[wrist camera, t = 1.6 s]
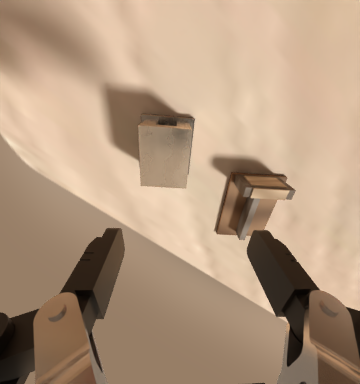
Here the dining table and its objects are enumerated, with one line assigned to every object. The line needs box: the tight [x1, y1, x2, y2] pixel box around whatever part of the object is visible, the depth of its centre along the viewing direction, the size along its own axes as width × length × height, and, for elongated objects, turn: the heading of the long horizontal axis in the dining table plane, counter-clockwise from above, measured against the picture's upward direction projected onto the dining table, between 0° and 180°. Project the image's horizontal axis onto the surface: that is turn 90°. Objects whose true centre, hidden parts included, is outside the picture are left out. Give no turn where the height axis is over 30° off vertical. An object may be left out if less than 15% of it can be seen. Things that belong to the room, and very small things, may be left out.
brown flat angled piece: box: [141, 114, 195, 174], centre depth 24 cm, size 8×7×1 cm
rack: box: [216, 172, 296, 240], centre depth 27 cm, size 13×9×5 cm
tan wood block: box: [138, 119, 192, 188], centre depth 21 cm, size 7×6×6 cm
